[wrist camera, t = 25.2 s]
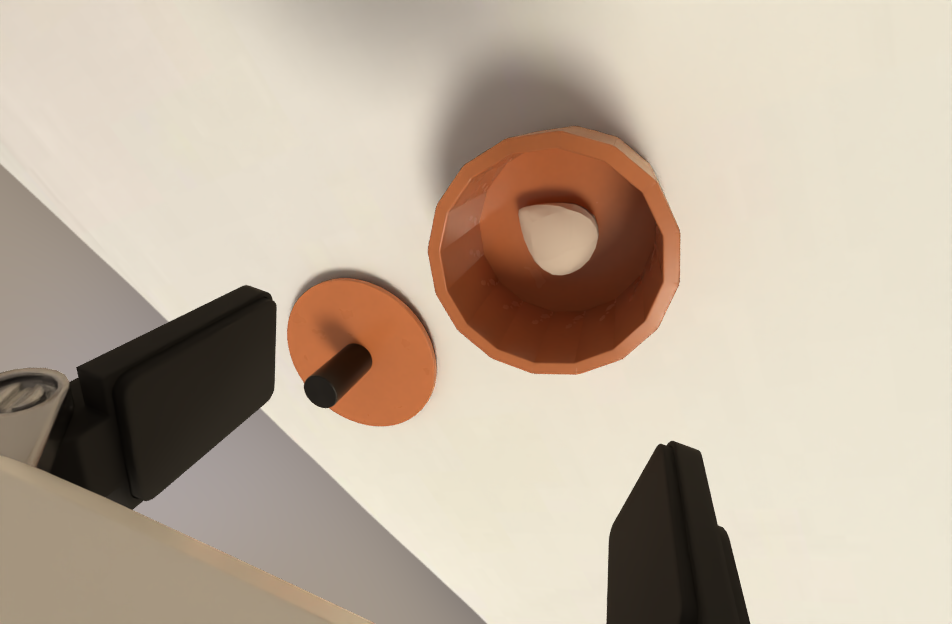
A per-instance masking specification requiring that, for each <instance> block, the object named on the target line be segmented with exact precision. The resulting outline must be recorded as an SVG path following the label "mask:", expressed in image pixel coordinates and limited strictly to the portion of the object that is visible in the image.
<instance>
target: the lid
mask: <svg viewBox="0 0 952 624" xmlns="http://www.w3.org/2000/svg"><path fill="white" fill-rule="evenodd" d="M287 340H288V347H289V351H290V355H291V358H292V361H293V363H294V366H295V368H296V370H297V372H298V374H299V376H300V377H301V379H302V380H303V382H304V390H305V393H306V395H307V397H308V398H309V400H310V401H311V402H312V403H314V404H315V405H317V406H319V407H322V408H330V409H331V410H332V411H334V412H336V413H337V414H339V415H341V416H343V417H345V418H347V419H349V420H352V421H354V422H357V423H361V424H365V425H371V426H390V425H395V424H399V423H402V422H404V421H407V420H409V419H410V418H412V417H413V416H415V415H416V414H417V413H418V412H419V411H420V410H422V408H423V407H424V406H425V404H426V403H427V402H428V400H429V398H430V396H431V394H432V392H433V389H434V386H435V381H436V367H437V366H436V358H435V353H434V349H433V346H432V343H431V341H430V338H429V336H428V334H427V332H426V330H425V328H424V326H423V325H422V323H421V322H420V321H419V319H418V318H417V316H416V315H415V314H414V313H413V312H412V311H411V309H410V308H409V307H408V306H407V305H405V304H404V303H403V302H402V301H401V300H400V299H399V298H397V297H396V296H394V295H393V294H392V293H390V292H388V291H387V290H385V289H383V288H382V287H379V286H377V285H375V284H372V283H369V282H366V281H363V280H358V279H351V278H338V279H330V280H327V281H324V282H321V283H319V284H317V285H315V286H313V287H311V288H310V289H309V290H307V291H306V292H305V293H304V294H303V295H302V296H301V297H300V298H299V299H298V300H297V302H296V303H295V305H294V307H293V309H292V311H291V313H290V317H289V321H288V328H287Z"/></svg>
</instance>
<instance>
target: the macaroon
mask: <svg viewBox="0 0 952 624" xmlns="http://www.w3.org/2000/svg"><path fill="white" fill-rule="evenodd" d="M518 215H519V221H520V226H521V230H522V233H523V237H524V240H525V243H526V245H527V247H528V250H529V252H530V253H531V255H532V257H533V259H534V261H535V262H536V263H537V264H538V265H539V266H540V267H541V268H542V269H543V270H545V271H547V272H549V273H551V274H553V275H566V274H570V273H573V272H575V271H576V270H578V269H580V268H581V267H582V266H583V265H584V264H585V263H587V262H588V261H589V260H590V258H591V256H592V254H593V252H594V250H595V249H596V245H597V240H598V236H599V232H598V225H597V222H596V219H595V216H594V215H593V214H592V213H590V212H589V211H588V210H587V209H586V208H584V207H582V206H579V205H577V204H573V203H544V204H536V205H531V206H527V207H523V208H521V209H520V210H519V213H518Z"/></svg>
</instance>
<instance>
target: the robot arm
mask: <svg viewBox="0 0 952 624" xmlns="http://www.w3.org/2000/svg"><path fill="white" fill-rule="evenodd" d="M275 346H276V303H275V302H274V301H272V296H271V294H269V293H268V292H265V291H262V290H260V289H257V288H254V287H251V286H248V285H245V286H242V287H240V288H238V289H236V290H234V291H231V292H229V293H227V294H225V295H223V296H221V297H219V298H217V299H215V300H213V301H211V302H209V303H207V304H205V305H203V306H201V307H199V308H197V309H195V310H193V311H191V312H189V313H187V314H185V315H182V316H180V317H178V318H176V319H174V320H172V321H170V322H168V323H166V324H164V325H162V326H160V327H158V328H156V329H154V330H152V331H150V332H148V333H146V334H144V335H142V336H140V337H138V338H136V339H134V340H132V341H130V342H127V343H125V344H123V345H121V346H120V347H117V348H115V349H113V350H111V351H109V352H107V353H105V354H103V355H101V356H99V357H97V358H95V359H93V360H91V361H89V362H87V363H84V364H83V365H80V366H78V367H76V368H77V372H78V377H79V378H77V379H75V380H73V381H71V382H69V381H68V379H67V377H66V376H65V375H64V374H62V373H60V372H58V371H56V370H52V369H47V368H23V369H14V370H10V371H6V372H2V373H0V624H375V623H373V622H371V621H369V620H367V619H365V618H363V617H361V616H358V615H356V614H354V613H352V612H350V611H348V610H346V609H344V608H341V607H339V606H337V605H335V604H333V603H331V602H328V601H326V600H325V599H322V598H320V597H318V596H316V595H314V594H312V593H310V592H307V591H305V590H303V589H301V588H299V587H297V586H295V585H293V584H290V583H288V582H286V581H284V580H282V579H280V578H278V577H275V576H273V575H271V574H269V573H267V572H265V571H263V570H261V569H258V568H256V567H254V566H252V565H250V564H248V563H246V562H243V561H241V560H239V559H237V558H235V557H233V556H231V555H228V554H226V553H224V552H222V551H220V550H218V549H216V548H213V547H211V546H209V545H207V544H204V543H202V542H200V541H198V540H196V539H194V538H192V537H190V536H187V535H185V534H183V533H181V532H179V531H177V530H174V529H172V528H170V527H168V526H166V525H164V524H161V523H159V522H157V521H154V520H153V519H151V518H148V517H146V516H144V515H142V514H140V513H138V512H135V511H133V509H134V508H135V507H136V506H137V505H139V504H140V503H141V502H142V501H149V500H151V499H153V498H154V497H155V496H157V495H158V494H159V493H160V492H162V491H163V490H164V489H165V488H166V487H168V486H169V485H170V484H171V483H172V482H173V481H174V480H176V479H177V478H178V477H179V476H181V475H182V474H183V473H184V472H185V471H186V470H187V469H189V468H190V467H191V466H192V465H193V464H195V463H196V462H197V461H198V460H199V459H201V458H202V457H203V456H204V455H205V454H206V453H207V452H209V451H210V450H211V449H212V448H213V447H214V446H216V445H217V444H218V443H219V442H220V441H222V440H223V439H224V438H225V437H226V436H228V435H229V434H230V433H231V432H232V431H233V430H235V429H236V428H237V427H238V426H239V425H240V424H242V423H243V422H244V421H245V420H246V419H248V417H250V416H251V415H252V414H253V413H255V412H256V411H257V410H258V409H259V408H260V407H262V406H263V405H264V404H265V403H266V402H267V401H268V400H269V399H270V398H271V396H272V394H273V391H274V384H275ZM105 497H106V498H105ZM607 624H750V621H749V617H748V613H747V608H746V604H745V600H744V596H743V592H742V588H741V584H740V580H739V576H738V572H737V568H736V564H735V560H734V556H733V552H732V548H731V544H730V540H729V537H728V534H727V532H726V531H725V529H724V528H723V527H721V526H718V525H717V520H716V516H715V511H714V507H713V503H712V498H711V494H710V489H709V485H708V481H707V476H706V472H705V467H704V463H703V459H702V455H701V452H700V451H699V450H696V449H694V448H691V447H688V446H686V445H683V444H680V443H677V442H675V441H670V442H669V443H668V444H667V446H666V445H663V444H659V445H658V446H657V447H656V449H655V451H654V452H653V454H652V456H651V458H650V460H649V461H648V463H647V465H646V467H645V468H644V470H643V472H642V474H641V475H640V477H639V479H638V481H637V483H636V484H635V486H634V488H633V490H632V491H631V493H630V495H629V497H628V498H627V500H626V502H625V504H624V506H623V507H622V509H621V511H620V513H619V514H618V516H617V518H616V520H615V521H614V523H613V525H612V528H611V532H610V536H609V555H608V591H607Z"/></svg>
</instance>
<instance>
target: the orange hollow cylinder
mask: <svg viewBox="0 0 952 624" xmlns="http://www.w3.org/2000/svg"><path fill="white" fill-rule="evenodd" d="M544 203H573V204H577V205H579V206H582V207H584V208H586V209H587V210H588V211H589V212H590V213H592V214H593V215H594V216H595V219H596V222H597V225H598V232H599V236H598V240H597V245H596V249H595V250H594V252H593V254H592V256H591V258H590V260H589V261H588V262H587V263H585V264H584V265H583V266H582V267H581V268H580V269H578V270H576V271H575V272H573V273H570V274H566V275H553V274H551V273H549V272H547V271H545V270H543V269H542V268H541V267H540V266H539V265H538V264H537V263H536V262H535V261H534V259H533V257H532V255H531V253H530V252H529V250H528V247H527V245H526V243H525V240H524V237H523V233H522V230H521V226H520V221H519V215H518V213H519V210H520V209H521V208H523V207H527V206H531V205H536V204H544ZM428 255H429V261H430V266H431V271H432V277H433V282H434V287H435V292H436V295H437V297H438V298H439V300H440V302H441V303H442V305H443V307H444V308H445V310H446V312H447V313H448V315H449V317H450V318H451V320H452V322H453V323H454V325H455V327H456V328H457V330H459V332H460V333H461V334H463V335H464V336H465V337H466V338H468V339H469V340H470V341H471V342H472V343H474V344H475V345H476V346H477V347H478V348H480V349H481V350H482V351H483V352H485V353H486V354H487V355H488V356H489V357H491V358H492V359H495V360H497V361H500V362H503V363H505V364H508V365H511V366H514V367H516V368H519V369H522V370H524V371H527V372H530V373H534V374H575V375H576V374H581V373H584V372H587V371H590V370H593V369H596V368H598V367H601V366H604V365H607V364H610V363H613V362H616V361H619V360H621V359H623V358H624V357H626V356H627V355H628V354H629V353H630V352H631V351H633V350H634V349H635V348H636V347H637V346H638V345H639V344H641V343H642V342H643V341H644V340H645V339H646V338H648V337H649V336H650V335H651V334H652V333H653V332H655V331H656V330H657V329H658V327H659V325H660V323H661V321H662V319H663V317H664V315H665V313H666V311H667V309H668V307H669V305H670V303H671V300H672V298H673V296H674V294H675V292H676V290H677V288H678V286H679V282H680V230H679V227H678V225H677V223H676V220H675V218H674V216H673V213H672V211H671V209H670V206H669V204H668V202H667V200H666V197H665V195H664V193H663V191H662V189H661V187H660V184H659V182H658V180H657V178H656V176H655V173H654V171H653V169H652V167H651V165H650V164H649V163H648V162H647V161H646V160H644V159H643V158H642V157H641V156H640V155H638V154H637V153H636V152H635V151H634V150H633V149H632V148H630V147H629V146H628V145H627V144H625V143H624V142H623V141H622V140H621V139H620V138H617V137H616V136H612V135H609V134H605V133H602V132H599V131H596V130H591V129H587V128H583V127H580V126H570V127H563V128H556V129H550V130H543V131H537V132H532V133H527V134H523V135H519V136H514V137H510V138H507V139H504V140H503V141H501V142H499V143H498V144H496V145H495V146H493V147H492V148H490V149H488V150H487V151H485V152H484V153H482V154H481V155H479V156H477V157H476V158H474V159H473V160H471V161H470V162H468V163H466V164H465V165H464V166H463V167H462V168H461V170H460V171H459V173H458V174H457V175H456V177H455V178H454V180H453V181H452V183H451V184H450V186H449V187H448V189H447V190H446V192H445V193H444V195H443V196H442V198H441V199H440V201H439V202H438V204H437V206H436V210H435V215H434V220H433V225H432V230H431V236H430V241H429V246H428Z"/></svg>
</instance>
